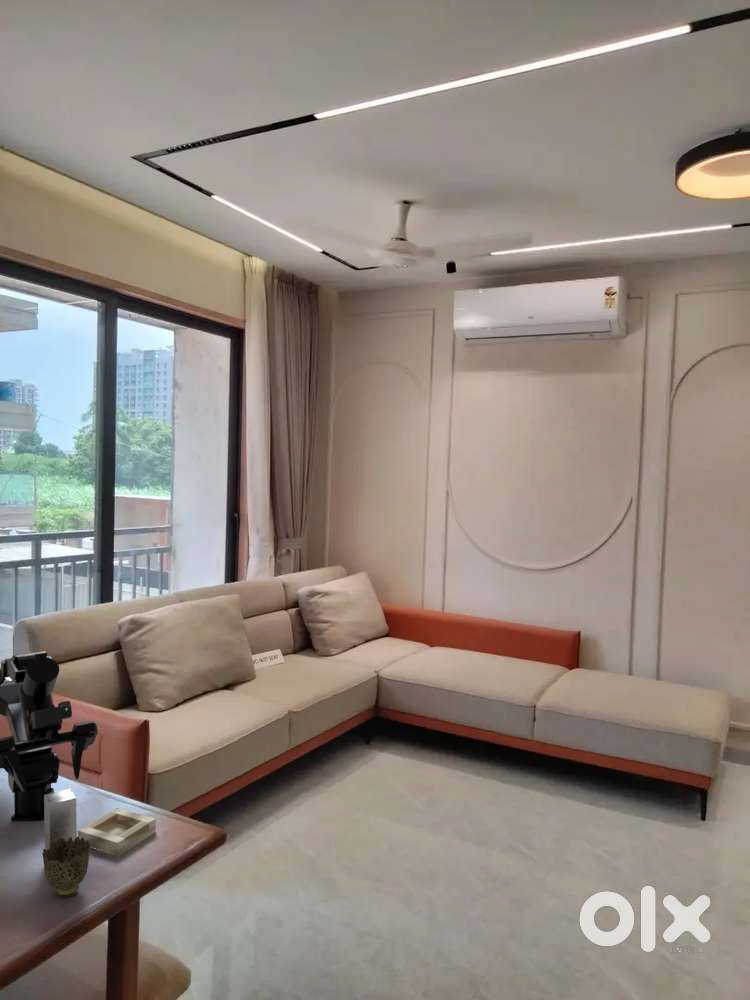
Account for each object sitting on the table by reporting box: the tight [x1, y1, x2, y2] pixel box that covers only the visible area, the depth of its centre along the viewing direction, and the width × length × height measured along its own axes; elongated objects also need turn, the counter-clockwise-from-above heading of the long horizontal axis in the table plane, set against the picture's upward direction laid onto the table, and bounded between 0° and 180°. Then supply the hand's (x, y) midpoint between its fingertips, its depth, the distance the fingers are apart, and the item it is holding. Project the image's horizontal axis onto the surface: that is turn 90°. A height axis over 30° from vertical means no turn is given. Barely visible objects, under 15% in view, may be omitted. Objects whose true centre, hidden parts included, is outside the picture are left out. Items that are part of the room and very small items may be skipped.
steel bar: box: [43, 788, 78, 851], centre depth 130 cm, size 4×4×13 cm
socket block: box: [77, 807, 157, 857], centre depth 141 cm, size 10×10×3 cm
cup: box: [41, 836, 91, 899], centre depth 123 cm, size 8×7×8 cm
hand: (51, 784), depth 135 cm, fingers open, 9 cm apart
